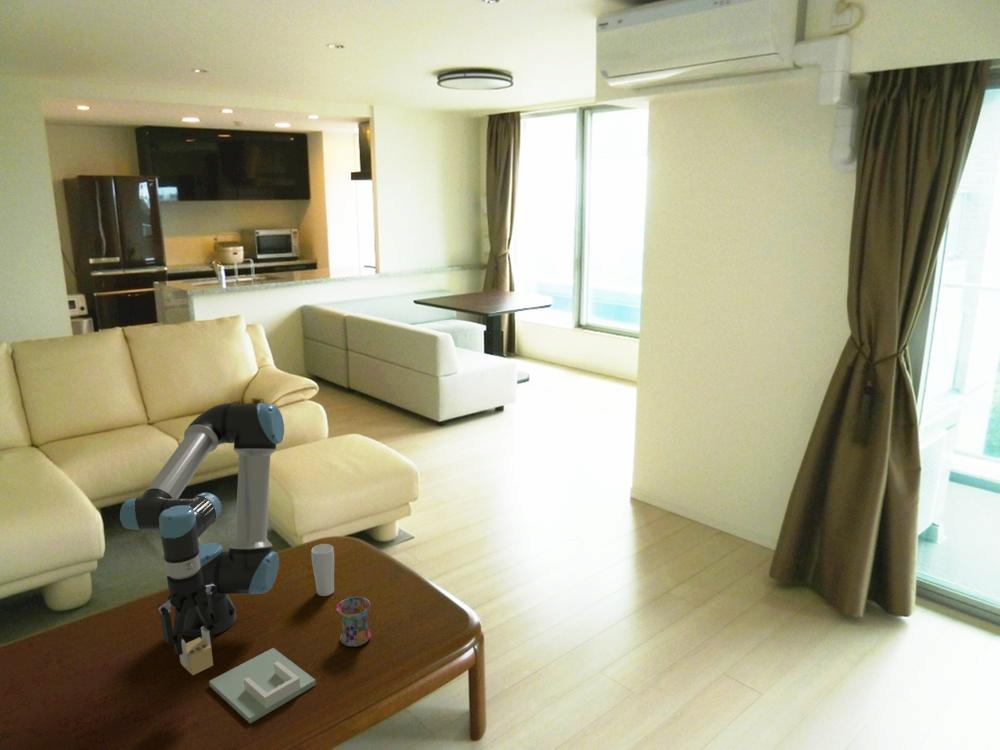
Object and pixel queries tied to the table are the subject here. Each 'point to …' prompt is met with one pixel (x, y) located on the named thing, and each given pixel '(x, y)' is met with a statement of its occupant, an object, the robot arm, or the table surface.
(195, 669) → the plug
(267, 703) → the board
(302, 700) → the table surface
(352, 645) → the mug
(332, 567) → the drinking glass
